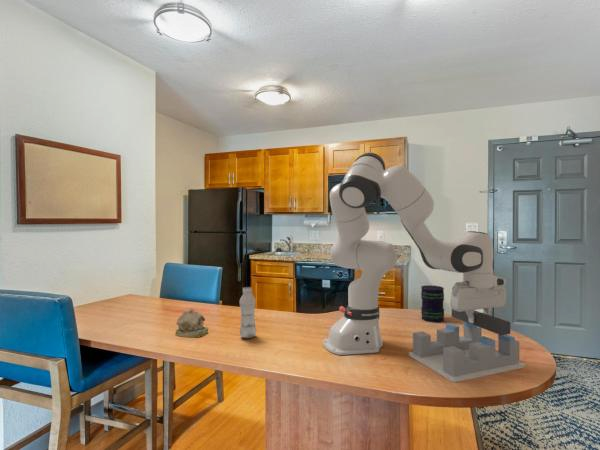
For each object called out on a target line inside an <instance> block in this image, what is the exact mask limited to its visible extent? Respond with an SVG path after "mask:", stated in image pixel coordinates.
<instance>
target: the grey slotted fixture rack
mask: <svg viewBox="0 0 600 450" xmlns="http://www.w3.org/2000/svg"><path fill="white" fill-rule="evenodd" d="M482 334H483V333H482V328H480V327H478V326H475V325H473V324H470V323H467V322H465V321H463V336H460V326H459V325H456V324H453V323H452V322H450V323H445V328H436V340H434V341H432V339H431V338H432V337H431V334H429V333H427V332H424V331H422V330H421V331H416V332H412V350H413V351H410V352H408V356H409V357H411V358H412V359H414V360H416V361H417V362H419V363H421V364H422V365H423V366H425V367H426V368H429V369H430V370H432V371H433V372H435V373H437V374H438V375H440V376H442V377H443V378H445V379H447V380H448V381H450V382H451V383H454V384H455V383H459V382H463V381H467V380H473V379H477V378H481V377H486V376H492V375H497V374H500V373H506V372H511V371H515V370H519V369H523V368H525V367H526V363H523V362H520V341H519V340H516V339H515V336H512V335H510V334H507V335H499V334H497V336H498V338H497V339H498V340H497V341H498V342H497V344H498V346H497V350H496V340H494V339H492V338H490V337H487V336H484V335H483V336H482Z"/></svg>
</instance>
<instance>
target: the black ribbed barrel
mask: <svg viewBox="0 0 600 450" xmlns="http://www.w3.org/2000/svg"><path fill="white" fill-rule="evenodd" d="M420 290H421V292H420V297H421V307H420V308H421V320H422V321H424V322H428V323H433V324H434V323H442V322H445V319H444V317H445V308H444V301H445V293H444V292H445V291H444V290H445V287H443V286H439V285H429V284H426V285H422V286H421V289H420Z"/></svg>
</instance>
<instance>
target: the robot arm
mask: <svg viewBox="0 0 600 450" xmlns="http://www.w3.org/2000/svg"><path fill="white" fill-rule="evenodd" d="M381 199H384V200H385V201H387V203H389V205H390V207H391V208H392V209H393V210H394V211H395V213H396V214H397V215H398V217H399V218H400V222H401V223H402V225H403V228H404V229H405V231H406V232H407V234H408V235H409V236H410V238H411V239H412V240H413V242H414V244H415V246H416V247H417V249H418V250H419V254H420V256H421V259H422V262H423V263H424V265H425V266H426V267H428V268H429V269H432V270H442V271H447V272H451V273H453V272H454V273H458V274H462V281H457V282H455V283H454V284H453V285H452V287H451V294H450V303H449V304H450V305H449V306H450V308H451V310H452V309H453V310H455V311H458V312H462V311H465V312H466V314H467V316H468V319H469V322H470V323H476V318H475V317H474V316H473V314H472V313H474V310H475V311H477V310H483V312H482V313H484V314H487V315H490V314H491V312H492V309H493V308H499V307H504V306H505V305H506V303H507V290H506V287H505V286H506V284H507V281H506V279H505V278H503V277H499V276H496V275H494V269H493V261H494V245H493V241H492V240H493V239H492V237H491V235H490V234H489V233H486V232H482V231H473V230H472V231H471V230H470V231H465V233H464V234H463V236H462V237H461V238H459V239H457V240H455V241H443V240H440V239H437V238H436V237H434V235H433V234H432V233H431V231H430V229H429V228H428V227H427V225H426V224H425V222H426V221H427V219H429V218H430V216H431V215H432V213H433V211H434V206H435V202H434V199H433V197H432V194H430V192H429V190H428V189H427V188H426V187H425V186H424V185H423V183H422V182H421V181H420V180H419V179H418V178H417V176H415V174H413V173H412V172H411V171H410V170H408V169H407V167H404V166H403V165H400V164H399V165H398V164H397V165H393V166H390V167H388V168H386V164H385V161H384V159H383V158H382V157H381V156H380V155H379V154H377V153H374V152H367V153H363V154H361V155H359V156H357V158H356V159H355V160H354V162H353V163H352V164H351V165H350V167H349V168H348V170H347V172H346V173H345V175H344V177H343V179H342V180H341V182H340V183H337V184H335V185H334V186H333V187H332V188H331V190H330V191H329V202H330V203H329V204H330V207H331V213H332V216H333V219H334V222H335V225H336V228H337V231H338V239H337V240H336V241H335V242H334V243H333V245H332V246H331V249H330V252H329V253H330V254H329V255H330V259H331V261H332V263H333V265H335V266H337V267H340V268H345V269H352V270H361V275H360V277H358V278H356V279H354V280H353V281H351V282H350V283H349V285H348V288H347V291H348V292H347V296H348V299H347V301H348V305H347V306H346V307H345V306H342V305H341V306H339V309H338V310H339V311H340V313H344V314H343V316H342V317H341V318H339V320H337V321H336V322H335V323H334V324H333V325H331V327H330V328H329V332H328V338H327V337H326V338H324V339H322V345H323V347H324V348H325V350H327V351H328V352H330V353H332V354H333V355H337V356H346V355H347V356H348V355H359V354H361V355H362V354H373V353H375V354H376V353H379V352H380V349H381V348H382V347H383V346H384V343H383V339H382V335H381V329H380V321H379V320H380V306H379V291H380V289H379V288H380V284H381V281H382V279H383V278H384V276H385V275H386V274H387V273H388V272H389V271H390V270H392V269H394V267H395V266H396V265H397V261H398V257H399V256H398V255H399V254H398V251H397V248H396V247H395V245H394V244H392V243H390V242H387V241H382V240H363V239H362V238H364V237H365V236H366V235H367V234H368V231H369V229H370V223H369V219H368V215H367V212H366V208H365V207H367V206H369V205H373V204H374V205H375V204H377V203H378V202H379V201H380V200H381Z"/></svg>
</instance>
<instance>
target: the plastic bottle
mask: <svg viewBox="0 0 600 450" xmlns="http://www.w3.org/2000/svg"><path fill="white" fill-rule="evenodd" d="M239 309H240V316H241V317H240V327H239V333H240V337H241V338H243V339H251V338H255V336H256V334H257V328H256V320H255V309H256V298H255V297H254V295H253V288H252V287H251V286H245V287H244V286H243V287H242V295H241V297H240V298H239Z"/></svg>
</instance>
